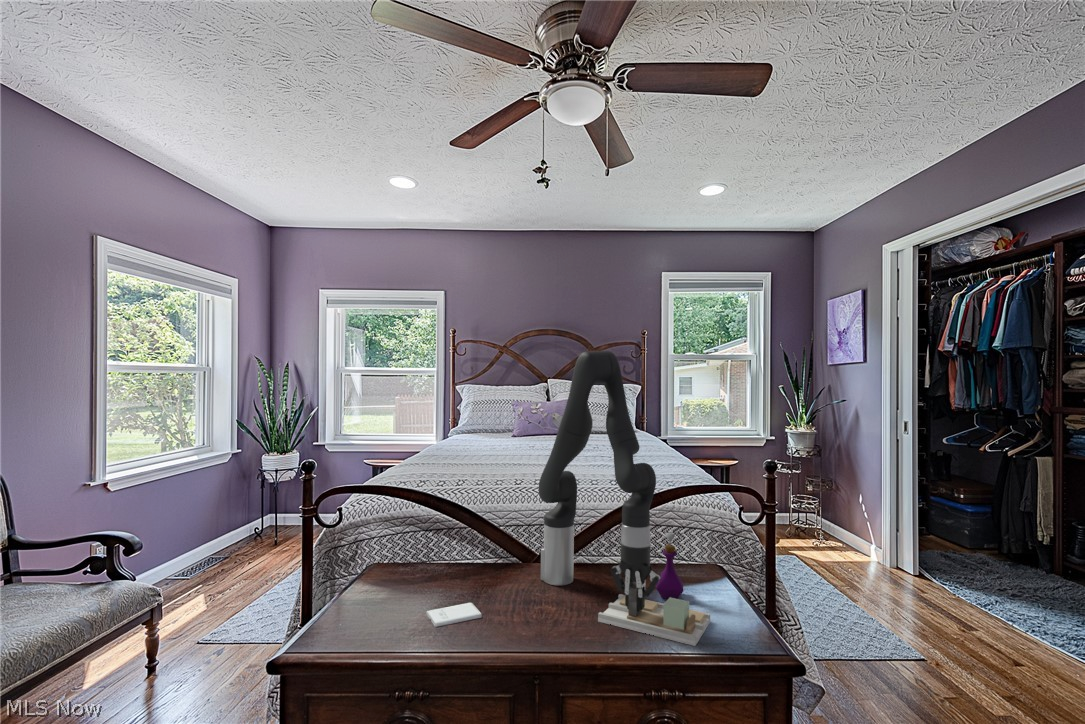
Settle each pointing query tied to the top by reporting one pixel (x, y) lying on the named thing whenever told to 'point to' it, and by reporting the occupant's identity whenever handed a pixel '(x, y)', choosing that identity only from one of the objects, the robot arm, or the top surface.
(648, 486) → the robot arm
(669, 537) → the perfume bottle
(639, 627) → the lane board
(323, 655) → the top surface
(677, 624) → the block
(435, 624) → the external hard drive
